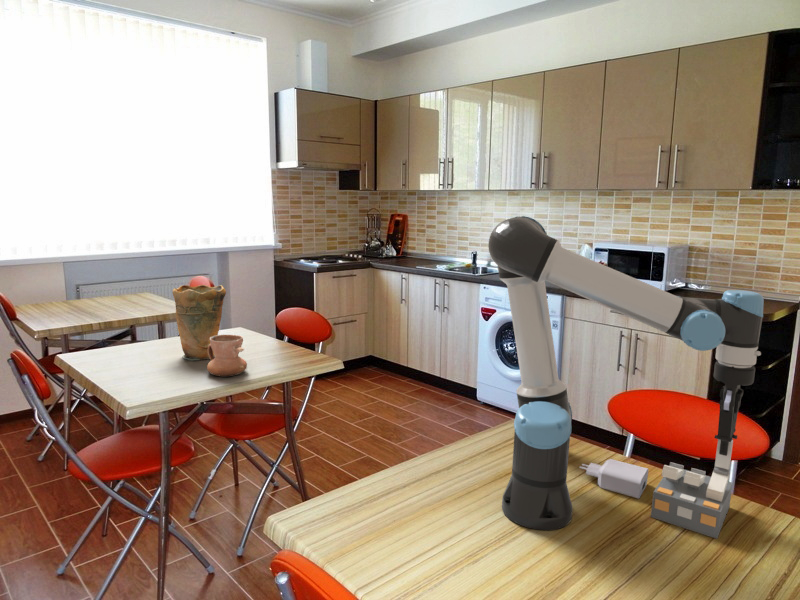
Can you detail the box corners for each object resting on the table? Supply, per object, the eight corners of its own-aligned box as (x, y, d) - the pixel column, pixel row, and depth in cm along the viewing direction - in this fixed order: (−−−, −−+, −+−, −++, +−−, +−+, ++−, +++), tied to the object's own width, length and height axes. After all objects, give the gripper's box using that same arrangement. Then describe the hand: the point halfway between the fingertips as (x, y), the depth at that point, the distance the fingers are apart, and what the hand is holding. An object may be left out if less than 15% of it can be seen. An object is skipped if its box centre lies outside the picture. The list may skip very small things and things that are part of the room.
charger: (585, 468, 150) (647, 485, 141) (574, 482, 142) (638, 500, 134) (587, 450, 149) (649, 467, 141) (575, 464, 141) (640, 481, 133)
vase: (237, 356, 243) (235, 286, 238) (191, 366, 228) (188, 291, 223) (212, 347, 257) (209, 280, 252) (167, 355, 243) (164, 284, 237)
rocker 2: (698, 486, 124) (700, 475, 124) (683, 482, 125) (685, 471, 125) (704, 482, 130) (706, 471, 130) (689, 478, 132) (691, 467, 132)
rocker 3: (721, 501, 122) (722, 492, 121) (705, 497, 123) (706, 488, 122) (728, 479, 127) (729, 470, 126) (713, 474, 129) (714, 466, 128)
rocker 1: (676, 480, 126) (677, 469, 126) (661, 475, 128) (663, 465, 128) (682, 476, 133) (684, 465, 133) (668, 472, 134) (670, 461, 135)
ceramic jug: (257, 373, 222) (256, 336, 220) (228, 382, 210) (226, 343, 207) (225, 365, 231) (224, 331, 229) (195, 374, 219) (193, 337, 217)
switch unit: (716, 539, 119) (720, 509, 118) (650, 517, 126) (653, 488, 125) (729, 507, 132) (733, 479, 130) (668, 489, 139) (671, 462, 138)
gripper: (751, 373, 116) (737, 483, 120) (759, 360, 126) (745, 461, 130) (710, 366, 120) (697, 472, 124) (720, 354, 130) (708, 452, 135)
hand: (722, 466), depth 127 cm, fingers closed
